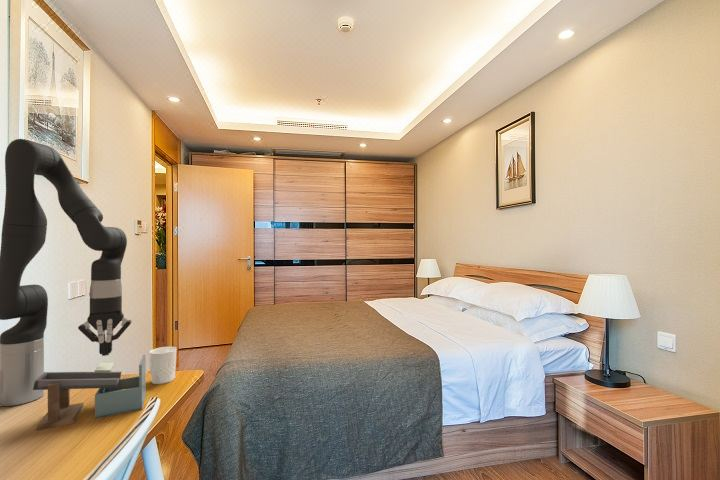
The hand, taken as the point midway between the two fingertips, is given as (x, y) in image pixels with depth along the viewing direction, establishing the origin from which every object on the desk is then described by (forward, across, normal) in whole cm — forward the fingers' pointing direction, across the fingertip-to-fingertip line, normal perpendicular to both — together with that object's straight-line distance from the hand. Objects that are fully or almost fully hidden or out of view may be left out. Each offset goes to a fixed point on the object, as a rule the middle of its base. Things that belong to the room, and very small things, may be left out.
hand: (105, 354), depth 100 cm
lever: (+5, +4, +4) cm, 8 cm away
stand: (+13, +8, +8) cm, 17 cm away
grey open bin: (+13, -5, +8) cm, 16 cm away
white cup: (+13, -14, -8) cm, 21 cm away
